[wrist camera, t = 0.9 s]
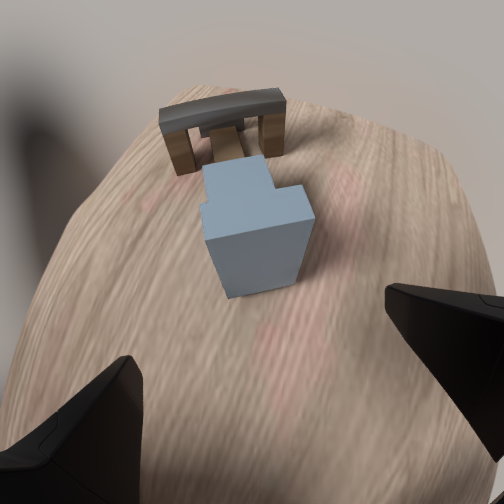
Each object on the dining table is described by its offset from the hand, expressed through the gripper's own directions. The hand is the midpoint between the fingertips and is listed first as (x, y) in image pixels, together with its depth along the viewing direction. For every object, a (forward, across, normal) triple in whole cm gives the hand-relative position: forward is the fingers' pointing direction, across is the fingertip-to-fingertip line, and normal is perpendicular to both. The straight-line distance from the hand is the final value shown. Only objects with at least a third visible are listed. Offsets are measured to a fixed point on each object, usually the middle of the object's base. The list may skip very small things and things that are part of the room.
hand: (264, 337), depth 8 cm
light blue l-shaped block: (+14, -1, 0) cm, 14 cm away
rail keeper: (+19, -2, -4) cm, 20 cm away
